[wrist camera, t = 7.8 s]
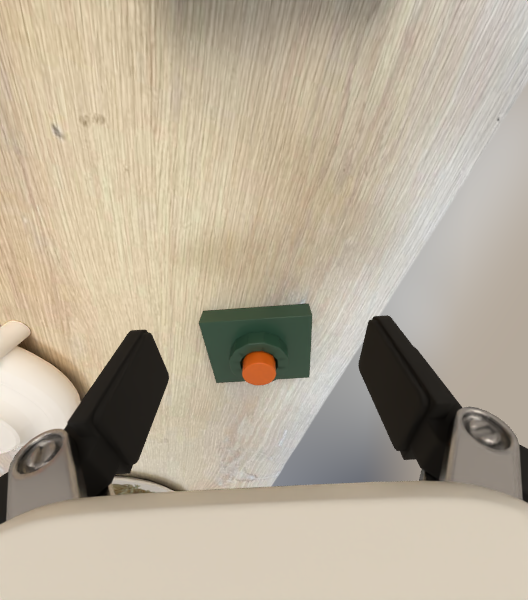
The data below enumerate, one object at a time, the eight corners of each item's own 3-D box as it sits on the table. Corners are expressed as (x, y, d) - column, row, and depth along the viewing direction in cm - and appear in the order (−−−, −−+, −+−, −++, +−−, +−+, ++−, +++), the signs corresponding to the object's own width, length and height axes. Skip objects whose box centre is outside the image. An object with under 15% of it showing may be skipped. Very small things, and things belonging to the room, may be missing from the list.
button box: (308, 303, 26) (315, 326, 23) (306, 364, 32) (311, 389, 29) (202, 310, 27) (194, 334, 24) (218, 369, 32) (214, 395, 29)
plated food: (153, 460, 47) (146, 480, 44) (209, 509, 63) (207, 526, 60) (27, 478, 51) (13, 497, 48) (110, 520, 67) (104, 536, 64)
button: (274, 349, 25) (275, 362, 24) (275, 371, 27) (276, 384, 26) (241, 351, 26) (239, 364, 24) (245, 373, 28) (244, 386, 26)
